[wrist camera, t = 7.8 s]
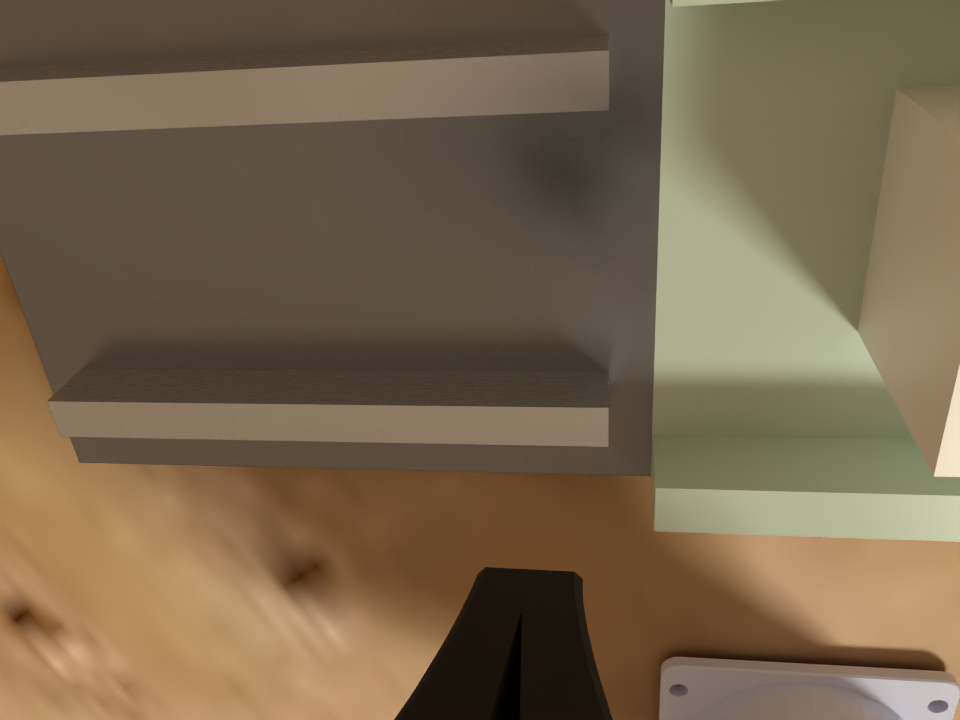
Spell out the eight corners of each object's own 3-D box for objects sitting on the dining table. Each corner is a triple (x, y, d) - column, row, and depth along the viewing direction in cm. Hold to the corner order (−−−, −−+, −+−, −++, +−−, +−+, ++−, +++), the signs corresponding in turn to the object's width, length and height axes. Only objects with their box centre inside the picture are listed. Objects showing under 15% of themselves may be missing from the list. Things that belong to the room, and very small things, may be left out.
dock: (649, 451, 21) (653, 516, 19) (98, 441, 24) (47, 498, 22) (665, -87, 16) (673, -80, 13) (-69, -32, 18) (-163, -19, 16)
